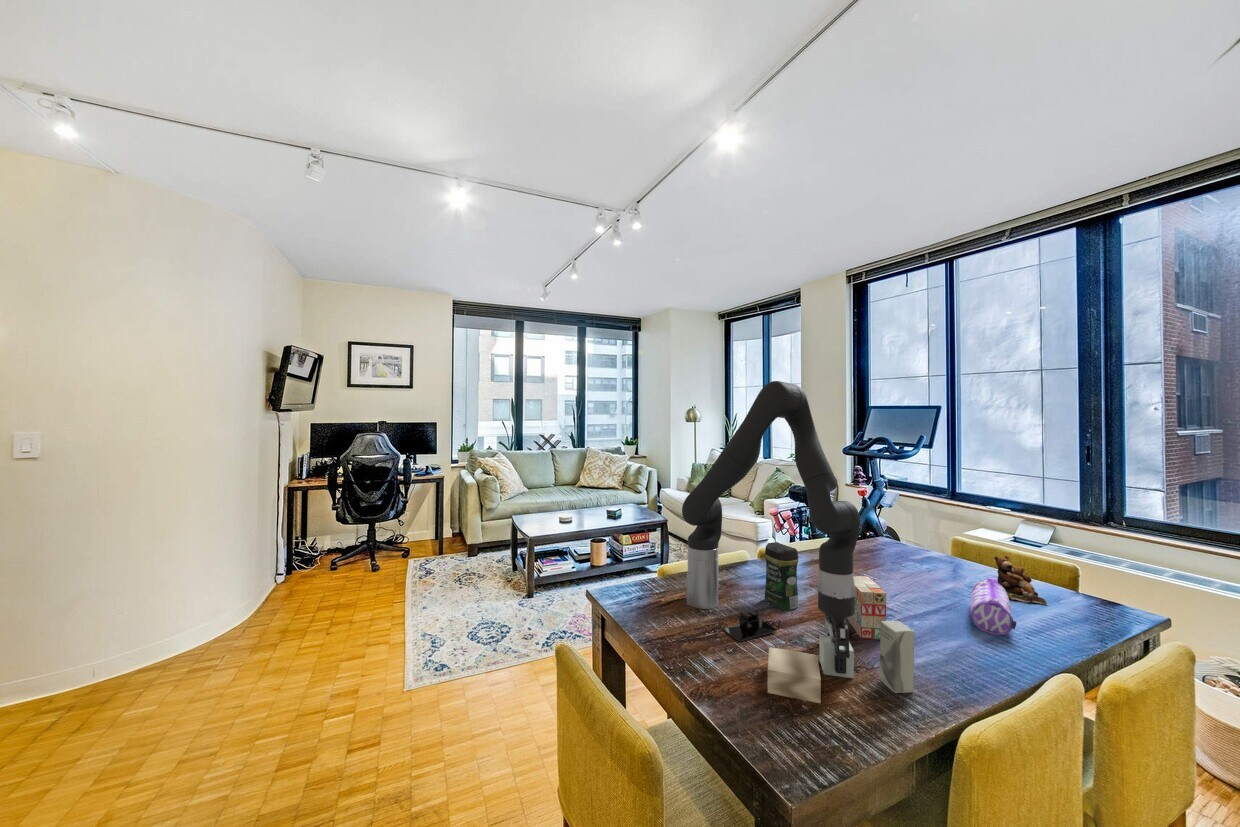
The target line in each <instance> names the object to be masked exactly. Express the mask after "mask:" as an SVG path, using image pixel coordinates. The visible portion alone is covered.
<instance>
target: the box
mask: <svg viewBox="0 0 1240 827" xmlns="http://www.w3.org/2000/svg"><path fill="white" fill-rule="evenodd" d="M879 640H880V646H879V648H880V649H879V680H880V681H881V682H882V683H883V684H884V685H885V686H886V687H887V688H888V689H889V690H891V691H892V692H893V693H894V694H907V693H914V676H915V675H914V672H915V661H914V660H915V630H913V629H912V628H910V627H909V626H908V625H905V624H904V623H903V622H901V621H899V620H886V621H881V635H880V639H879Z"/></svg>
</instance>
